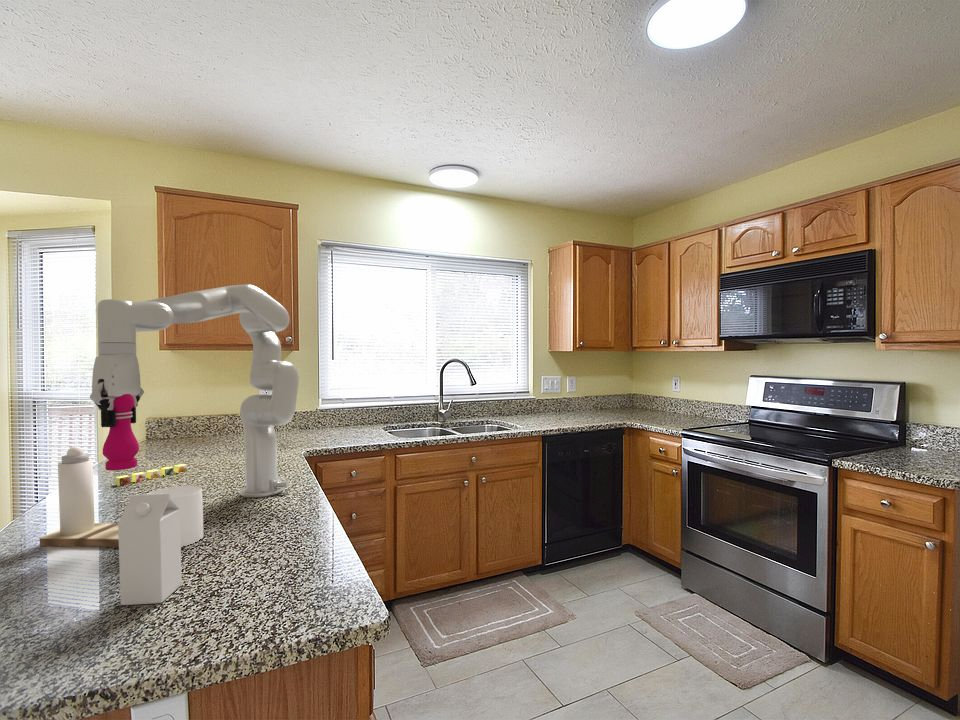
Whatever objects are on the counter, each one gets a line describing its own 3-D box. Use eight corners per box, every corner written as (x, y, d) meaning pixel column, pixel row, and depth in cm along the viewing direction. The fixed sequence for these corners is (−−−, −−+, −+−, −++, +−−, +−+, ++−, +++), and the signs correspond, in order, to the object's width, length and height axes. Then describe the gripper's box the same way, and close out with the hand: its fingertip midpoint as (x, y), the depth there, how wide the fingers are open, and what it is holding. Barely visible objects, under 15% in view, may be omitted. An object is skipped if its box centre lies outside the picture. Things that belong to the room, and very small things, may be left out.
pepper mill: (125, 464, 125) (123, 384, 125) (146, 465, 123) (144, 384, 123) (95, 470, 119) (93, 386, 119) (117, 471, 116) (115, 386, 116)
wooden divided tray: (158, 531, 126) (157, 523, 126) (127, 547, 116) (127, 538, 116) (76, 530, 128) (76, 523, 128) (39, 546, 118) (39, 537, 118)
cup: (143, 554, 112) (141, 501, 112) (149, 537, 122) (148, 489, 122) (202, 544, 117) (201, 494, 117) (204, 529, 128) (203, 482, 127)
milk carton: (143, 587, 96) (140, 489, 96) (182, 585, 97) (179, 488, 96) (120, 606, 89) (117, 500, 89) (161, 603, 90) (158, 499, 89)
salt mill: (101, 525, 126) (98, 443, 125) (78, 535, 119) (75, 449, 119) (76, 525, 126) (74, 443, 126) (52, 535, 119) (49, 449, 119)
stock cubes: (86, 484, 176) (86, 475, 176) (180, 466, 203) (180, 457, 203) (130, 497, 159) (129, 487, 159) (226, 475, 186) (225, 466, 186)
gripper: (130, 351, 130) (131, 420, 130) (71, 350, 112) (73, 430, 113) (157, 350, 129) (159, 420, 129) (102, 350, 112) (104, 430, 112)
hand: (119, 424), depth 121 cm, fingers closed on pepper mill, 5 cm apart
